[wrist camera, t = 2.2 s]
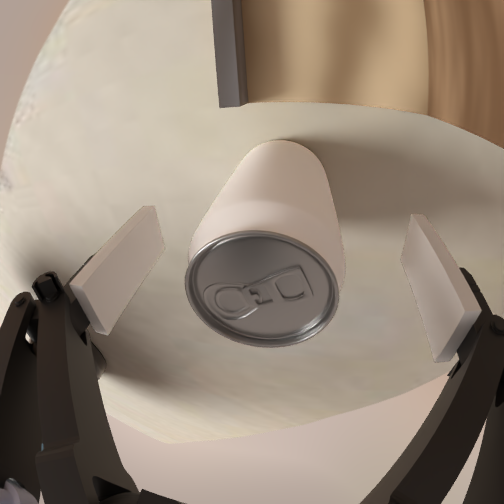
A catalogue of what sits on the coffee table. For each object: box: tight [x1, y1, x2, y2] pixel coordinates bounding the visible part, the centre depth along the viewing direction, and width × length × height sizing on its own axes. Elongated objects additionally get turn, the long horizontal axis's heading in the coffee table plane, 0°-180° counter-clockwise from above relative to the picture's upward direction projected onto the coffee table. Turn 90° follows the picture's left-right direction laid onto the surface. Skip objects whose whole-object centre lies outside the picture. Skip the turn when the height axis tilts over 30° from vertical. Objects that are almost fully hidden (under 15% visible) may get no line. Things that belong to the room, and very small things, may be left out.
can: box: [185, 140, 345, 348], centre depth 15 cm, size 6×6×12 cm
